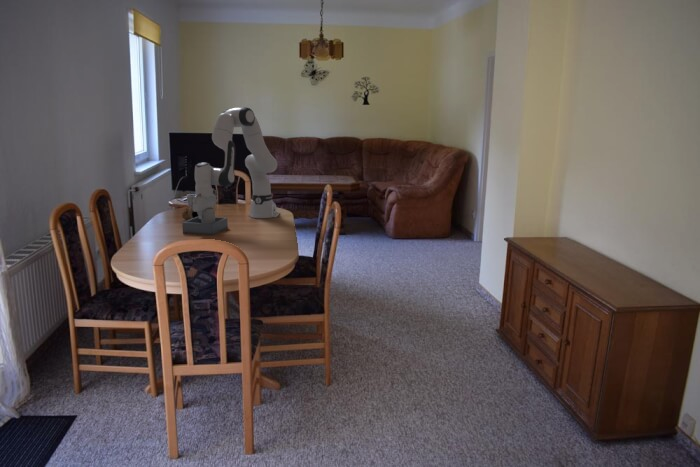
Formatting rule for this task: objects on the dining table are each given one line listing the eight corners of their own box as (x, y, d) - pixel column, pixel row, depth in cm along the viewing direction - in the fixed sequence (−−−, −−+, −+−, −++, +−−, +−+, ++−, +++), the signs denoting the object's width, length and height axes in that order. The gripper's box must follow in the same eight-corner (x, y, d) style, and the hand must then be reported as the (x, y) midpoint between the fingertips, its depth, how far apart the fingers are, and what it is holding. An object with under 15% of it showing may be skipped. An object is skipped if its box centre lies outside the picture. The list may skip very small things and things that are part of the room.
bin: (199, 226, 322) (198, 216, 321) (227, 228, 318) (227, 217, 317) (182, 233, 305) (182, 222, 304) (213, 235, 301) (212, 224, 300)
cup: (201, 211, 367) (200, 193, 364) (206, 213, 360) (205, 195, 357) (185, 213, 361) (184, 194, 358) (190, 215, 354) (189, 196, 351)
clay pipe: (178, 229, 331) (199, 223, 327) (171, 212, 329) (192, 206, 325) (194, 222, 349) (214, 216, 344) (188, 206, 347) (208, 199, 342)
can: (201, 230, 306) (200, 209, 304) (202, 227, 314) (201, 206, 311) (215, 230, 308) (214, 209, 305) (216, 227, 315) (215, 206, 312)
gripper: (199, 195, 296) (201, 221, 299) (217, 190, 316) (218, 214, 319) (189, 195, 298) (190, 220, 301) (207, 189, 317) (208, 213, 320)
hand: (205, 217), depth 310 cm, fingers open, 8 cm apart
